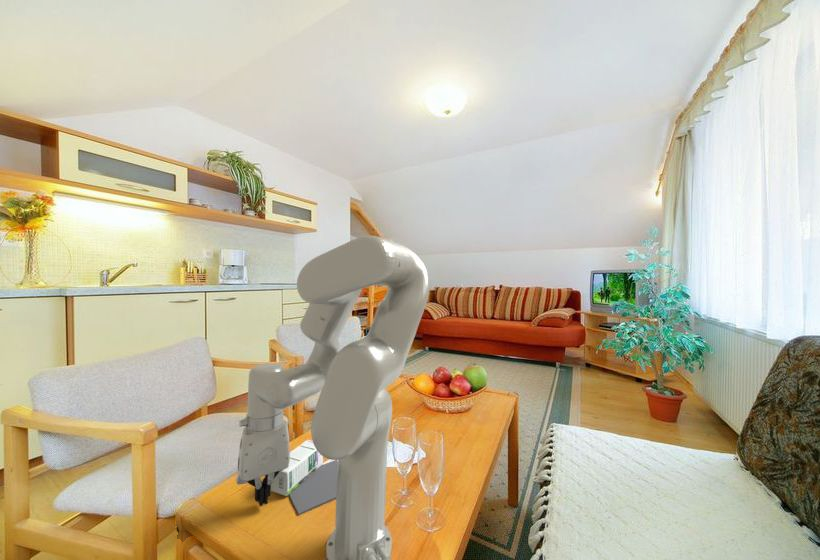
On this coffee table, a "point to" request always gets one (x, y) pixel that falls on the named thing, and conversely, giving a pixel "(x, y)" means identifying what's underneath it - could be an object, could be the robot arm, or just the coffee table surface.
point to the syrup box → (297, 468)
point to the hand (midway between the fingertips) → (262, 501)
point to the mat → (316, 488)
